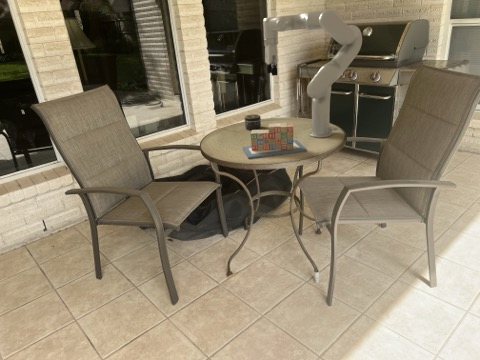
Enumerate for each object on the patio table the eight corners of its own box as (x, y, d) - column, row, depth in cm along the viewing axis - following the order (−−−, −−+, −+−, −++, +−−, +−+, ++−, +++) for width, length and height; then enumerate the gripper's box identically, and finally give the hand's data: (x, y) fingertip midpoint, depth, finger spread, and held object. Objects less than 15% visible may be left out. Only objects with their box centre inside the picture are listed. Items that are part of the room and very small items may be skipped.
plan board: (297, 141, 200) (297, 139, 200) (306, 151, 186) (306, 149, 185) (242, 148, 197) (242, 146, 196) (248, 158, 182) (248, 156, 182)
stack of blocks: (251, 150, 190) (249, 127, 185) (252, 146, 195) (251, 124, 190) (293, 149, 186) (293, 126, 181) (293, 145, 192) (293, 122, 187)
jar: (255, 125, 237) (254, 113, 234) (264, 128, 229) (263, 116, 226) (242, 128, 233) (241, 116, 230) (250, 131, 225) (249, 119, 222)
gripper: (260, 41, 209) (262, 72, 216) (268, 43, 193) (269, 76, 200) (273, 40, 210) (274, 71, 217) (282, 42, 194) (283, 75, 201)
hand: (272, 74), depth 208 cm, fingers open, 9 cm apart
